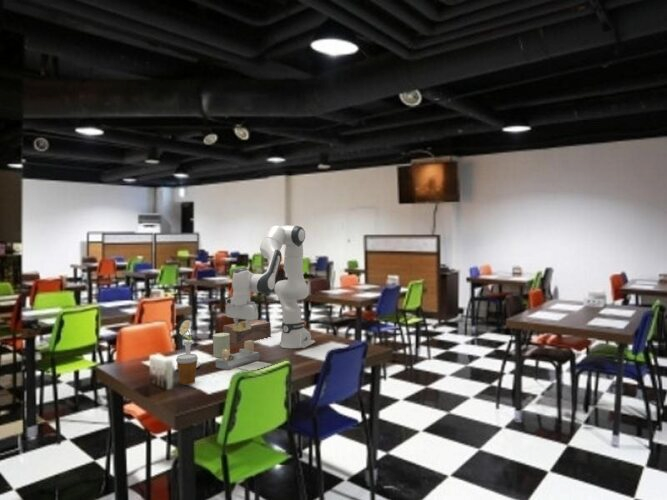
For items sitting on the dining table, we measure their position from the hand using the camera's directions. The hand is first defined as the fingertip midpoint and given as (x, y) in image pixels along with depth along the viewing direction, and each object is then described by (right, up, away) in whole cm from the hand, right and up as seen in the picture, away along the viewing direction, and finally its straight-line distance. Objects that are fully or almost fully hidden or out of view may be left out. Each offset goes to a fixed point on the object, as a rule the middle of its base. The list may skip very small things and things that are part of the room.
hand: (242, 327), depth 237 cm
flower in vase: (-25, -20, -6) cm, 33 cm away
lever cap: (0, -1, 0) cm, 1 cm away
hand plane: (-3, -19, +3) cm, 19 cm away
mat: (+7, -19, -4) cm, 21 cm away
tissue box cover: (-8, -18, +59) cm, 62 cm away
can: (-15, -19, +20) cm, 31 cm away
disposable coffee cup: (-19, -21, -27) cm, 39 cm away
